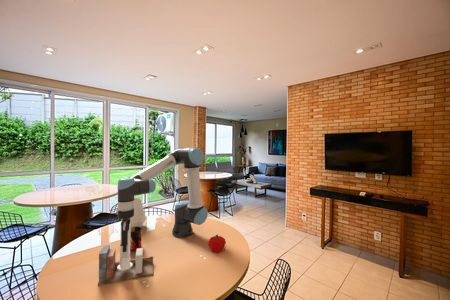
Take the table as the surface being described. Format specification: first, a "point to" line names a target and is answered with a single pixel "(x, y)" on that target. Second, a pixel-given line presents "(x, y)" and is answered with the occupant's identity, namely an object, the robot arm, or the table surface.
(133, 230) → the mug
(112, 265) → the rack
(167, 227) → the table surface
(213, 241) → the apple
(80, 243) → the table surface
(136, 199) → the vase
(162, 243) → the table surface
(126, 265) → the white round flared column
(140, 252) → the bookend
